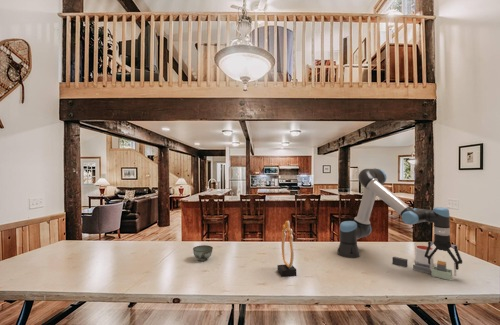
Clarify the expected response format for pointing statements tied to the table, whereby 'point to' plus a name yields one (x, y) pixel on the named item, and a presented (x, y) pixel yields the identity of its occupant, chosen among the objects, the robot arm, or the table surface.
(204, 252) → the bowl
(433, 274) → the end holder
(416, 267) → the clip
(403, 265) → the charcoal brick
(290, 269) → the loop sculpture
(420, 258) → the cup
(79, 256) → the table surface
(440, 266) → the orange tall block
